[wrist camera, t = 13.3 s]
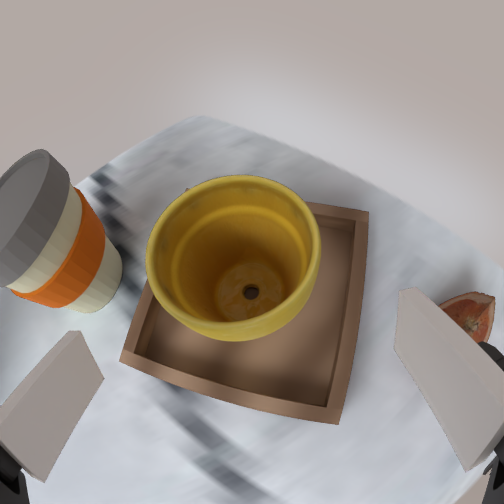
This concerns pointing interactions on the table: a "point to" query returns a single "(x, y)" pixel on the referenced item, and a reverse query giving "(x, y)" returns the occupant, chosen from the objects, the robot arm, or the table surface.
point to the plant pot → (234, 257)
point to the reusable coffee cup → (53, 239)
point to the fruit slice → (472, 314)
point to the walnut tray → (271, 337)
